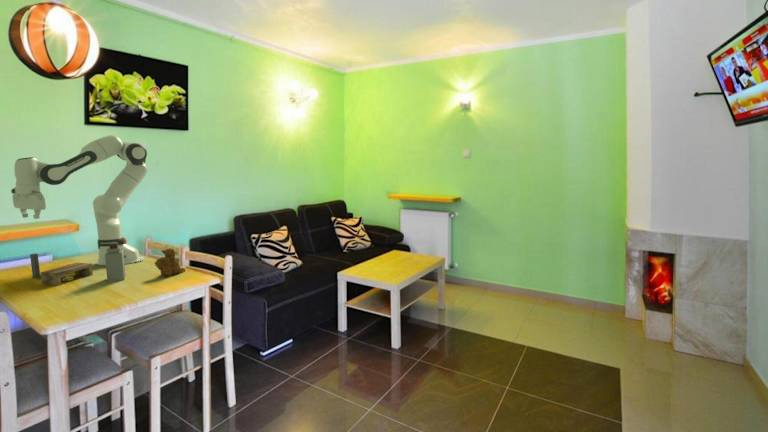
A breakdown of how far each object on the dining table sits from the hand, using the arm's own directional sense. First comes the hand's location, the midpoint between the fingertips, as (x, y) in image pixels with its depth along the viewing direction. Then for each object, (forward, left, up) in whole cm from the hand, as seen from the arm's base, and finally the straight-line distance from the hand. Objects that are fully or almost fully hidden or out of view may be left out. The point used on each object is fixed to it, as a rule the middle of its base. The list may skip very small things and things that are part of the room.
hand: (30, 218), depth 195 cm
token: (-15, +17, -30) cm, 37 cm away
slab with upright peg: (-5, +8, -30) cm, 31 cm away
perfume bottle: (-35, +27, -30) cm, 54 cm away
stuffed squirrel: (-59, +30, -30) cm, 72 cm away
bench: (-15, +17, -30) cm, 37 cm away
